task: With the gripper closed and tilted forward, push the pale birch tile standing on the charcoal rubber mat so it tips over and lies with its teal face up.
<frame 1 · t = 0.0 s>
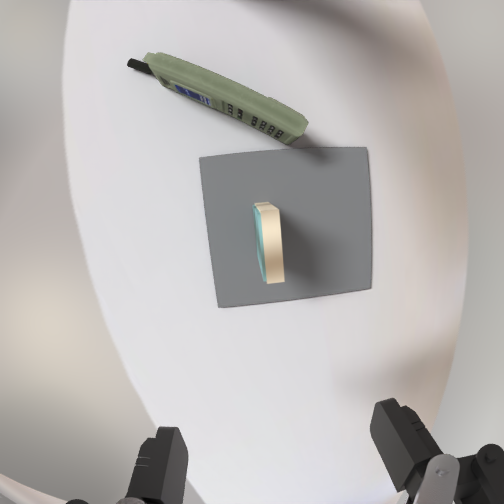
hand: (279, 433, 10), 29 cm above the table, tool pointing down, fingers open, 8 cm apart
mat: (292, 226, 38), on the table
tile: (262, 230, 37), point 1 cm above the table, touching mat
brick cell phone: (208, 95, 33), on the table
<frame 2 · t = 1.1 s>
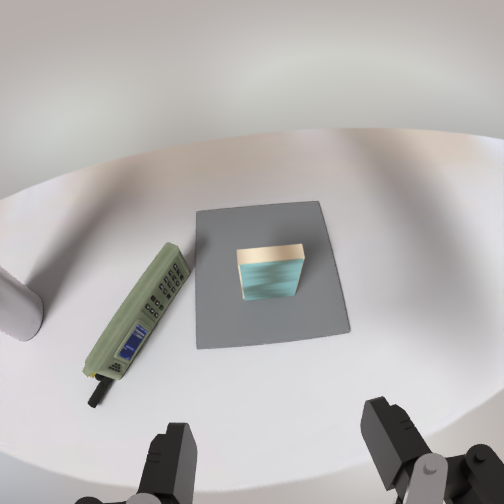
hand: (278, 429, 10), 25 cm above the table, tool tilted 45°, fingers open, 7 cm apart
mat: (265, 267, 41), on the table
tile: (268, 291, 39), point 1 cm above the table, touching mat
brick cell phone: (138, 338, 37), on the table
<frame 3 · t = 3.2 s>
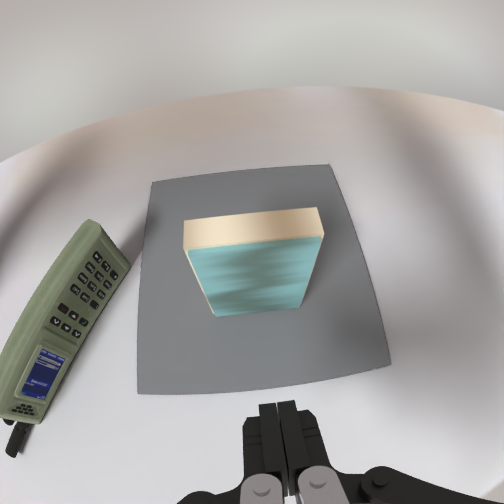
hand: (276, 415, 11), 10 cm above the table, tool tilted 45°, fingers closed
mat: (251, 261, 26), on the table
tile: (256, 301, 23), point 1 cm above the table, touching mat
brick cell phone: (60, 366, 21), on the table
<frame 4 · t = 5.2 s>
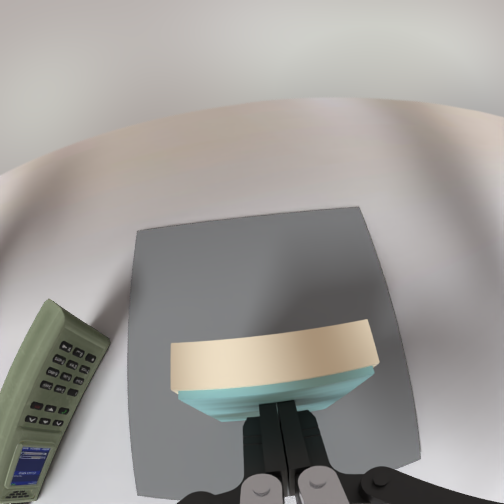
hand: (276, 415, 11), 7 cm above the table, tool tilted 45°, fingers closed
mat: (264, 348, 19), on the table
tile: (271, 403, 17), point 1 cm above the table, tilted 7°, touching mat
brick cell phone: (47, 447, 15), on the table
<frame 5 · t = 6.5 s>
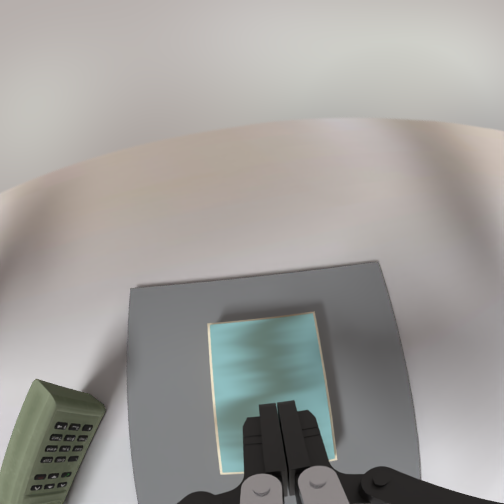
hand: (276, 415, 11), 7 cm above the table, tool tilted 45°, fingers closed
mat: (273, 425, 17), on the table
tile: (278, 467, 14), point 2 cm above the table, tilted 90°, touching mat
brick cell phone: (53, 499, 12), on the table
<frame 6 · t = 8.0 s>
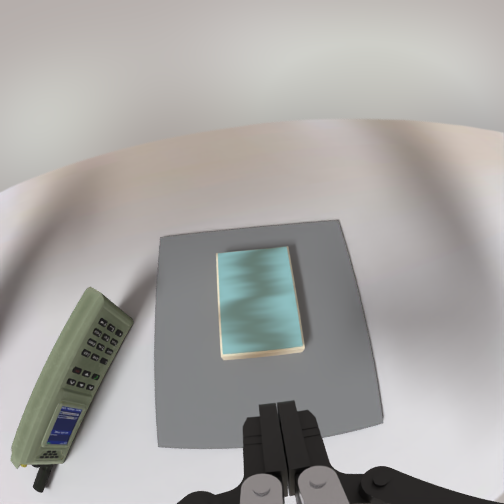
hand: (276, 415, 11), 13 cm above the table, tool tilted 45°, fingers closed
mat: (260, 328, 26), on the table
tile: (263, 354, 23), point 2 cm above the table, tilted 90°, touching mat
brick cell phone: (77, 412, 22), on the table
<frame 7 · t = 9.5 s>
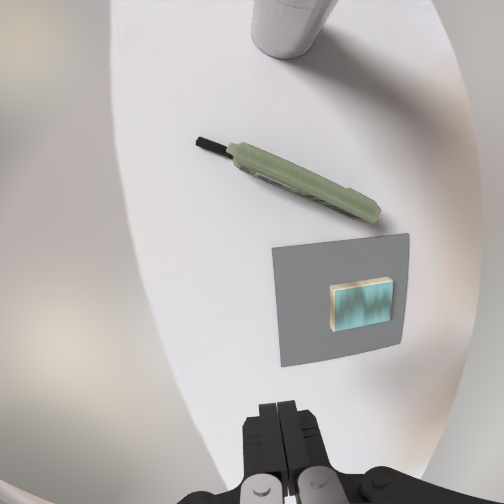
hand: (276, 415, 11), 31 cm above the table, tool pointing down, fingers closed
mat: (346, 302, 43), on the table
tile: (332, 309, 42), point 2 cm above the table, tilted 90°, touching mat
brick cell phone: (282, 175, 39), on the table
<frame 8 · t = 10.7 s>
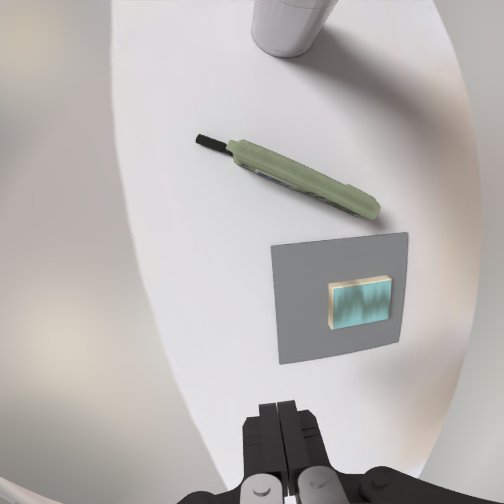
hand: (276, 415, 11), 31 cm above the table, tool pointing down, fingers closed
mat: (344, 300, 44), on the table
tile: (330, 307, 42), point 2 cm above the table, tilted 90°, touching mat
brick cell phone: (282, 172, 39), on the table
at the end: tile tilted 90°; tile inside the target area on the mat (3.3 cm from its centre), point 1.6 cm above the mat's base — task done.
